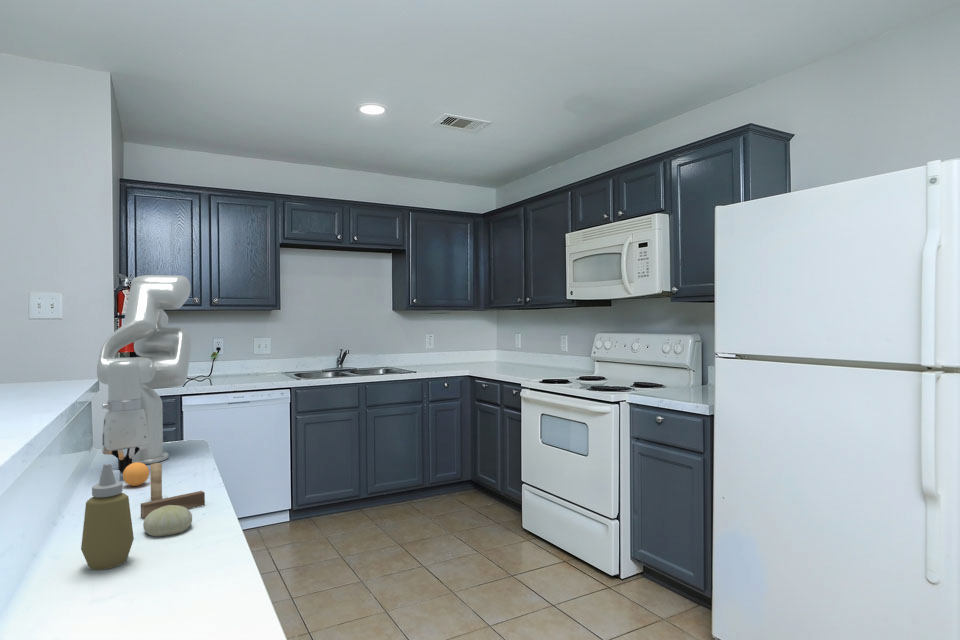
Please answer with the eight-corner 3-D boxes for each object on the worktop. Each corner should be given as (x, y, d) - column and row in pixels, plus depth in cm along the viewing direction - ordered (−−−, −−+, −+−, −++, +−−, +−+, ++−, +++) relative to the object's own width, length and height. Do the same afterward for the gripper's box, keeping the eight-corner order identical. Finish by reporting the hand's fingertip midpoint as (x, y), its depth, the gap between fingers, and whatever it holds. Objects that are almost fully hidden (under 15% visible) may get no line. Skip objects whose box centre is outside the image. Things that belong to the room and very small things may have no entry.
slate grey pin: (108, 507, 138) (108, 470, 138) (120, 505, 139) (120, 469, 139) (107, 510, 136) (106, 473, 136) (119, 508, 137) (118, 472, 137)
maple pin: (151, 498, 144) (150, 463, 144) (162, 497, 145) (161, 462, 145) (150, 501, 142) (149, 466, 142) (161, 499, 143) (161, 464, 143)
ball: (124, 483, 156) (124, 461, 156) (150, 481, 159) (149, 458, 159) (121, 490, 151) (121, 466, 151) (148, 487, 153) (148, 464, 153)
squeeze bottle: (95, 577, 101) (94, 473, 101) (72, 567, 106) (71, 466, 105) (143, 560, 108) (142, 462, 108) (119, 551, 112) (118, 457, 112)
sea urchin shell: (203, 513, 129) (188, 495, 123) (189, 549, 123) (172, 532, 117) (164, 511, 129) (146, 493, 124) (147, 547, 124) (128, 530, 118)
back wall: (140, 516, 131) (140, 503, 131) (201, 503, 140) (201, 490, 140) (143, 519, 130) (143, 505, 130) (204, 505, 139) (204, 492, 139)
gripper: (96, 410, 153) (97, 481, 153) (159, 404, 164) (159, 470, 164) (89, 407, 158) (89, 475, 159) (150, 401, 169) (150, 465, 169)
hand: (125, 472), depth 161 cm, fingers closed
